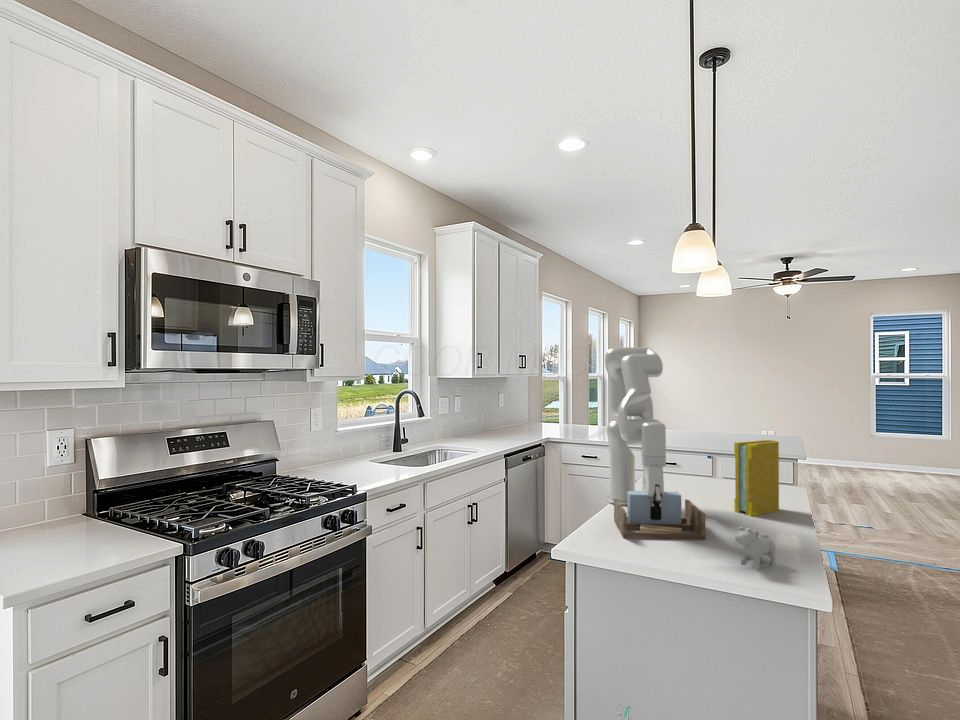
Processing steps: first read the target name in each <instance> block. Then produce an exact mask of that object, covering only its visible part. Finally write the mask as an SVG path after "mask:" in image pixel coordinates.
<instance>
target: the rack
mask: <svg viewBox="0 0 960 720" xmlns="http://www.w3.org/2000/svg"><path fill="white" fill-rule="evenodd" d="M613 507H614V508H613V518H614V519H613V521H614V524H615V526H616V527H617V529H618V531H619V532H620V535H621V537H622V539H632V540H633V539H635V540H636V539H638V540H639V539H641V540H647V539H648V540H688V541H689V540H691V541H693V540H694V541H697V540H698V541H705V540H706V513H704V511H702V509H700V508H699V507H698V506H697V505H695V503H693V502H692V501H690V500H689V499H686V498H685V499H684V517H681V524H645V525H654V526H664V527H673V528H682V533H654V532H640V526H641V524H628V523H627V510H625V507H624V506H623V505H621V504H620V502H619V500H618V499H617V498H614V504H613ZM628 530H634V531H628ZM684 531H685V532H684ZM686 531H687V532H686ZM691 532H694V533H691Z"/></svg>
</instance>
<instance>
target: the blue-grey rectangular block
mask: <svg viewBox="0 0 960 720" xmlns="http://www.w3.org/2000/svg"><path fill="white" fill-rule="evenodd" d="M660 494H661V493H660ZM661 495H662V494H661ZM653 497H656V495H653ZM654 500H656V499H654ZM626 506H627V507H626V508H627V510H626V513H627V524H681V525H682V523H681V518H682V494H680V493H679V491H664V495H663V497H662V498H661V520H652V519H651V507H652V504H651V497H650V498H648V497H647V495H646V494H645V493H644V491H643V490H642V491H641V490H638V491H637V490H635V491H627V505H626Z"/></svg>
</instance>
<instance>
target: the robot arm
mask: <svg viewBox="0 0 960 720" xmlns="http://www.w3.org/2000/svg"><path fill="white" fill-rule="evenodd" d="M663 364H664V363H663V361H662V359H661V357H660V356H659V355H658V353H657V352H656V351H654V350H653V349H651V348H649V347H640V346H639V347H631V346H630V347H628V346H627V347H626V346H625V347H624V346H623V347H613V348H609V349H608V350H607V351H606V353H605V354H604V366H605V369H606V373H607V375H608V379H609V397H610V399H609V401H610V403H609V405H610V411H611V413H612V415H614V416H615V417H617V419H615V420H612V421H610V422H609V423H608V424H607V427H606V434H607V441H608V452H609V454H608V455H609V458H608V459H609V460H608V461H609V495H607V496H605V501H606V502H607V503H610V504H612V505H614V498H617V499H618V500H619V502H620V504H621V505H622V506H627V491H636V490H635V489H636V487H635V486H636V479H635V478H636V474H635V471H636V470H635V468H636V467H635V464H636V463H635V455H634V453H633V451H632V450H631V449H630V448H629V446H630V445H631V446H632V445H635V446H636V445H641V466H643V467H642V468H643V469H642V489H641V490H642V491H644V493H645V494H646V495H647V497H648V498H650V497H651V504H652V507H651V519H652V520H661V498H662V497H663V495H664V492H665V490H664V489H665V486H664V482H665V481H664V467H666V466H667V462H666V461H667V456H666V453H667V451H666V450H667V449H666V448H667V442H666V440H667V439H666V435H667V434H666V432H667V431H666V430H667V429H666V425H665V423H663V422H661V421H660V420H658V419H654V407H653V405H654V403H653V398H652V397H651V394H652V389H651V386H650V381H649V380H650V379H649V378H659V377H660V376H661V375H662V374H663V369H664V365H663ZM629 417H638V418H637V419H636V418H633V419H631V418H630V419H629ZM660 493H661V494H662V495H661V494H660ZM653 495H656V497H653ZM654 499H656V500H654ZM612 502H613V503H612Z"/></svg>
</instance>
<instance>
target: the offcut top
mask: <svg viewBox="0 0 960 720" xmlns="http://www.w3.org/2000/svg"><path fill="white" fill-rule="evenodd" d="M639 532H654V533H683V531H682V528H673V527H664V526H654V525H645V524H641V526H640V530H639Z"/></svg>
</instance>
